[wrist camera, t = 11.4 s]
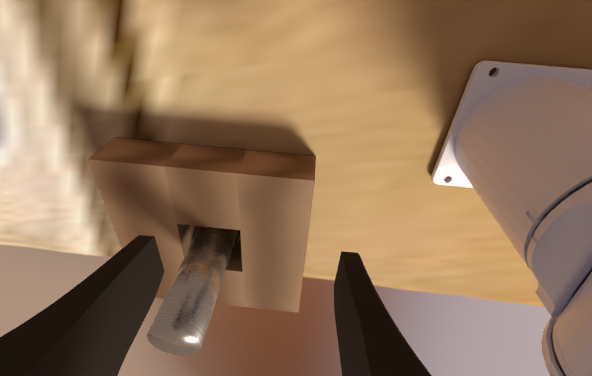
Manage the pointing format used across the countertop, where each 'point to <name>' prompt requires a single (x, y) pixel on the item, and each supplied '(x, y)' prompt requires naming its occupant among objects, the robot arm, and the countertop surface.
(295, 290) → the socket block
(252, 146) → the countertop surface
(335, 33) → the countertop surface
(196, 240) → the steel pin
